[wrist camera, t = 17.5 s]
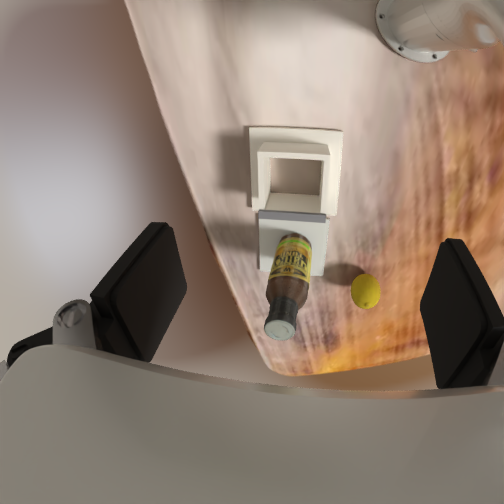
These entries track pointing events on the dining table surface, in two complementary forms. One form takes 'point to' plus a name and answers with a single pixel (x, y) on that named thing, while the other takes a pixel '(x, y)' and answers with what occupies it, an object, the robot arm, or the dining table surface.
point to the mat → (278, 228)
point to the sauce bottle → (288, 285)
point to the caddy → (295, 147)
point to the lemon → (365, 291)
